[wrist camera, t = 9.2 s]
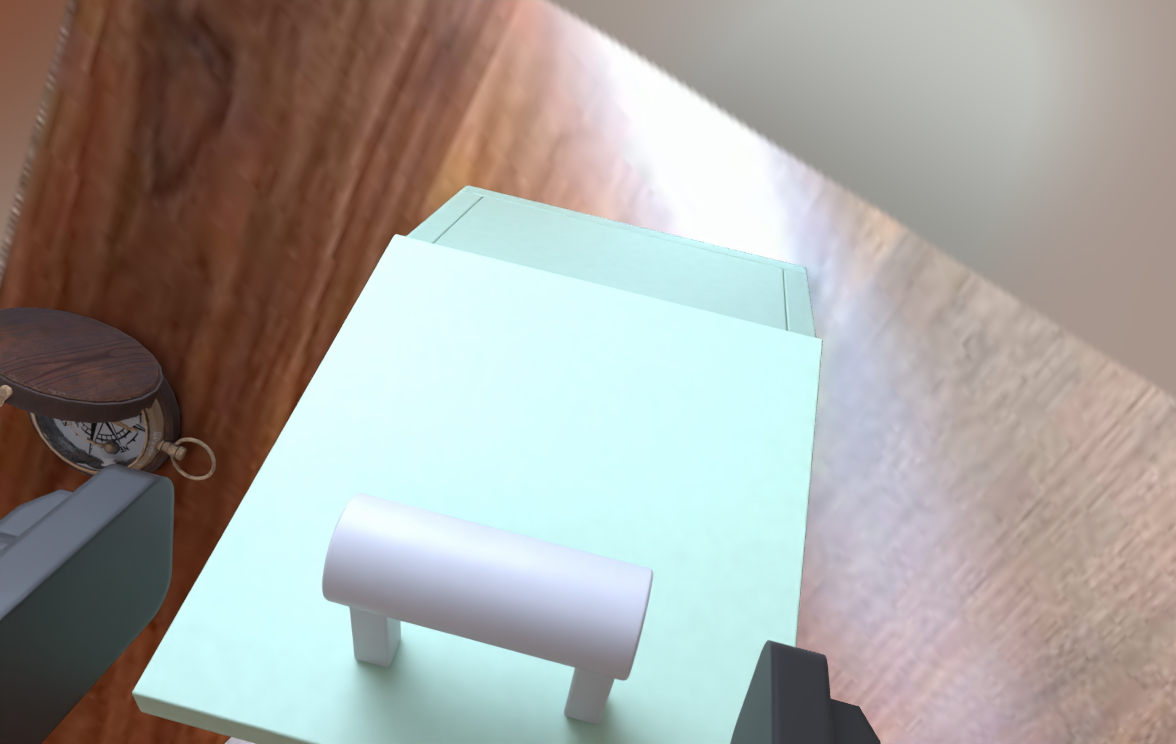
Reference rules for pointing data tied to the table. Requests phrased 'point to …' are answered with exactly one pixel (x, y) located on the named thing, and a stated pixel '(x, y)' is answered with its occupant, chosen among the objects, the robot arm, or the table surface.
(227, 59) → the table surface
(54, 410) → the compass
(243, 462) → the table surface
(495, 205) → the compartment
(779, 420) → the lid
